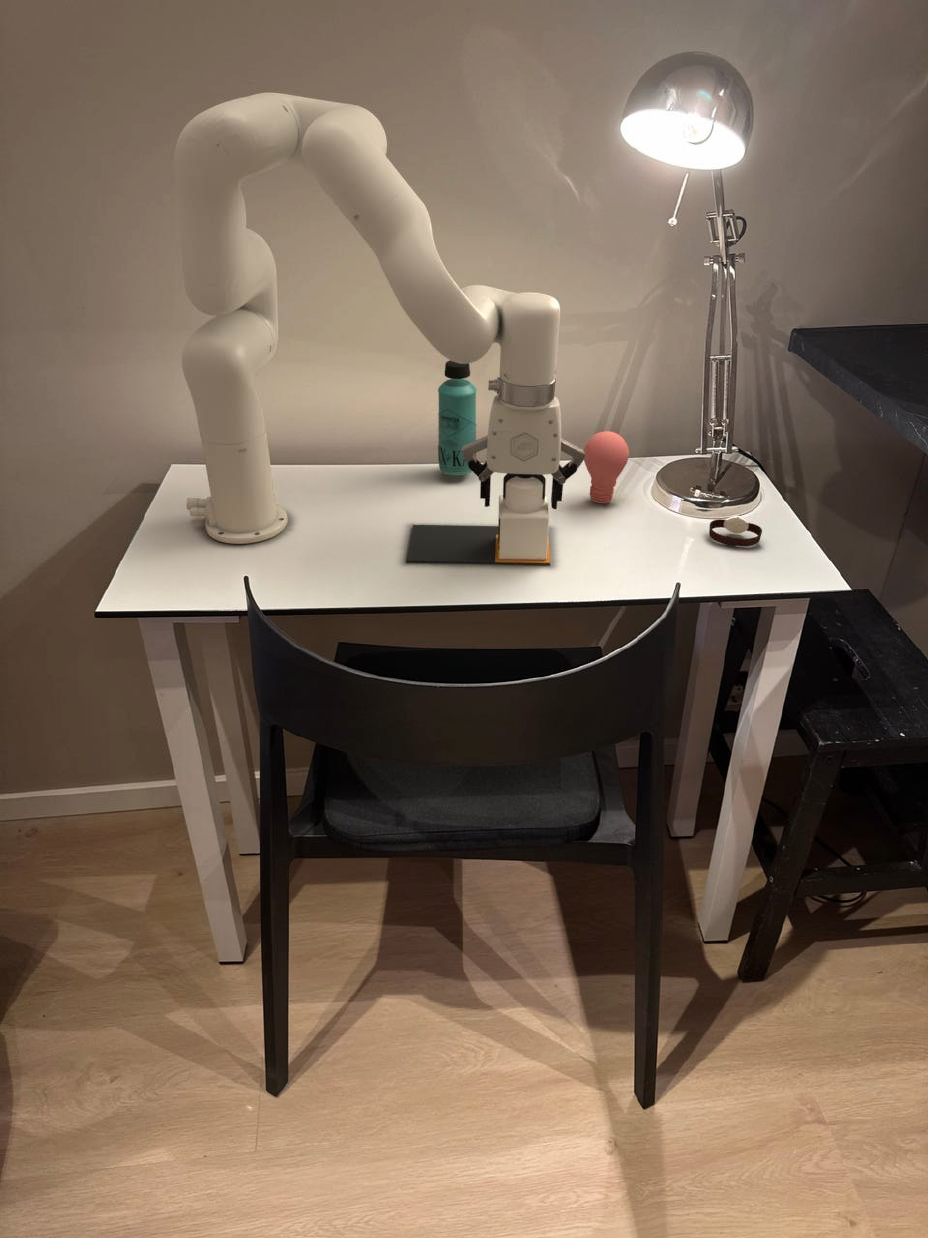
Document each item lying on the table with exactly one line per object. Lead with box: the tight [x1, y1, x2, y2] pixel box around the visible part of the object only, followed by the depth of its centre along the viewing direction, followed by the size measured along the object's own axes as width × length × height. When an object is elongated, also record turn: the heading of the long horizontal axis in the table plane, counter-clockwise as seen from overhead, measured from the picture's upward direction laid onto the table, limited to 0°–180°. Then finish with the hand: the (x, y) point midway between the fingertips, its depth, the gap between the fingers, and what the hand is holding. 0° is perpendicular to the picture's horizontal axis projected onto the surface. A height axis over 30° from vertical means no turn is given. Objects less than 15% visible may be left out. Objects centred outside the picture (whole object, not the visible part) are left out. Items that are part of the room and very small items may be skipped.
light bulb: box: [583, 430, 630, 504], centre depth 152 cm, size 7×7×12 cm
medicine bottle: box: [497, 473, 550, 560], centre depth 139 cm, size 7×7×12 cm
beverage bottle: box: [437, 360, 478, 476], centre depth 158 cm, size 6×7×20 cm
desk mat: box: [405, 524, 551, 566], centre depth 144 cm, size 21×11×1 cm, turn 87°
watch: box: [708, 515, 763, 548], centre depth 144 cm, size 8×5×4 cm, turn 72°
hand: (520, 503), depth 138 cm, fingers open, 9 cm apart
